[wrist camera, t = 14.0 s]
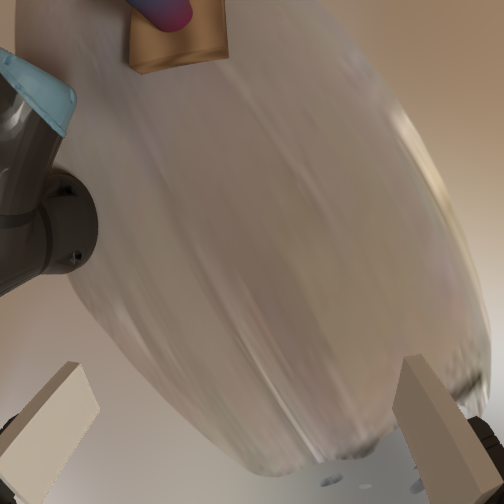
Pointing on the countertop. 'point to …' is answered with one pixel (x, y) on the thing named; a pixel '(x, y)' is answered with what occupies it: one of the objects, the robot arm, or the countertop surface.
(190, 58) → the base block
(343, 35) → the countertop surface
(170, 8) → the cup
